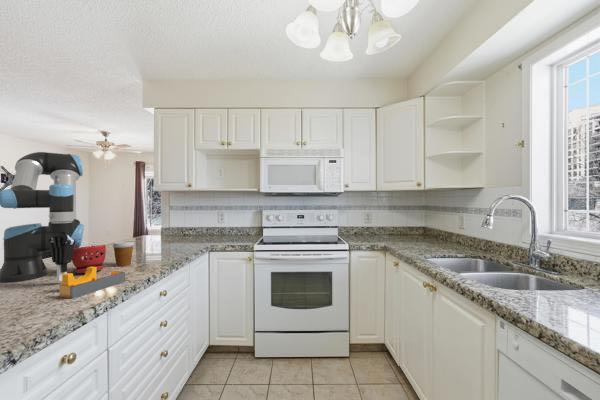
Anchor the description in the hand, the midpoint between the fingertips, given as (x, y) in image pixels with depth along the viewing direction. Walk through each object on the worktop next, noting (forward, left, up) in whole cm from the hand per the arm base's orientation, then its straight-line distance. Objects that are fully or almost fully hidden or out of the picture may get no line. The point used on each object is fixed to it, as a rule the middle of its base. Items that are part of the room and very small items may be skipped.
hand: (61, 280), depth 110 cm
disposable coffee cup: (-5, +31, -2) cm, 32 cm away
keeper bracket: (+19, 0, -2) cm, 19 cm away
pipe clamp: (+9, 0, -2) cm, 9 cm away
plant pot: (-8, +16, -2) cm, 18 cm away
